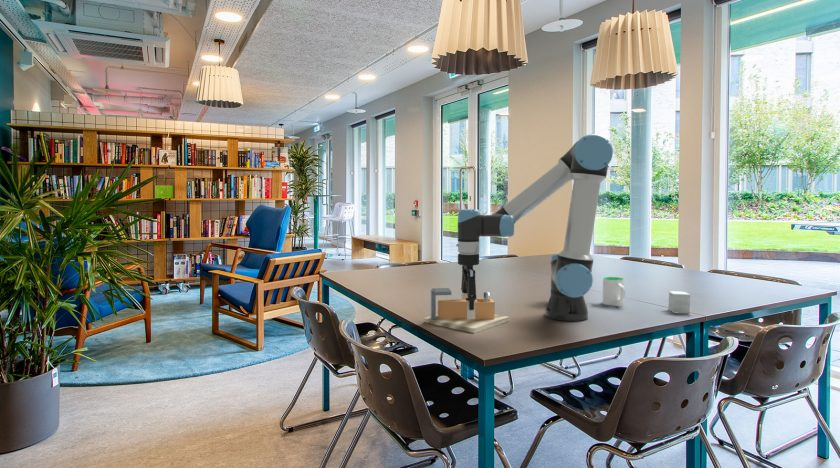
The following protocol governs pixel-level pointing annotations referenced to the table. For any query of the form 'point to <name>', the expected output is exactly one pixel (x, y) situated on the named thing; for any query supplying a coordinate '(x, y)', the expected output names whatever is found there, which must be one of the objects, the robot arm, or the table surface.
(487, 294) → the post
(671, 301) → the product box
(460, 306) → the link
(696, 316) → the table surface
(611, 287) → the mug
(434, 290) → the keeper
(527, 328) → the table surface
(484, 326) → the board
